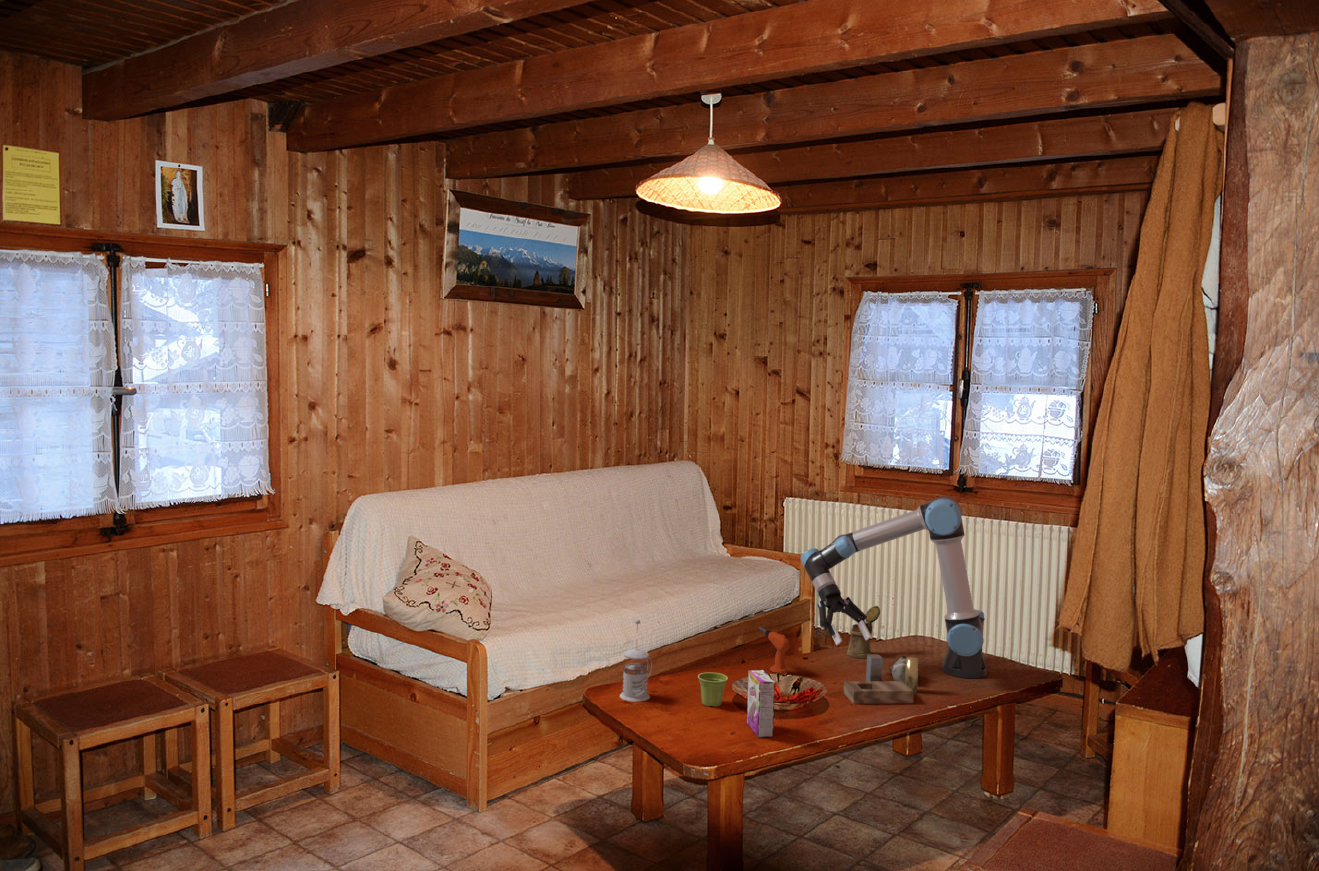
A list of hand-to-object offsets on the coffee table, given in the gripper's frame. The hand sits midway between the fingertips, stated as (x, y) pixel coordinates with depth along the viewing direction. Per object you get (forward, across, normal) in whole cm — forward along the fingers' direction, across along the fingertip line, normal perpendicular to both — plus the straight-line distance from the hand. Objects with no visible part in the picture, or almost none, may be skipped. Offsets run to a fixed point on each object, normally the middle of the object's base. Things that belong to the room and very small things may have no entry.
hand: (854, 640), depth 332 cm
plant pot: (+9, +58, -11) cm, 60 cm away
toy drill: (-5, +18, -25) cm, 32 cm away
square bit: (+17, 0, -3) cm, 17 cm away
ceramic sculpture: (+15, -17, -5) cm, 23 cm away
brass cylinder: (+22, -10, +3) cm, 25 cm away
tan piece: (-5, -26, -25) cm, 36 cm away
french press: (-3, +76, -23) cm, 79 cm away
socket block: (+22, +6, +3) cm, 23 cm away
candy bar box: (+26, +59, +7) cm, 65 cm away
